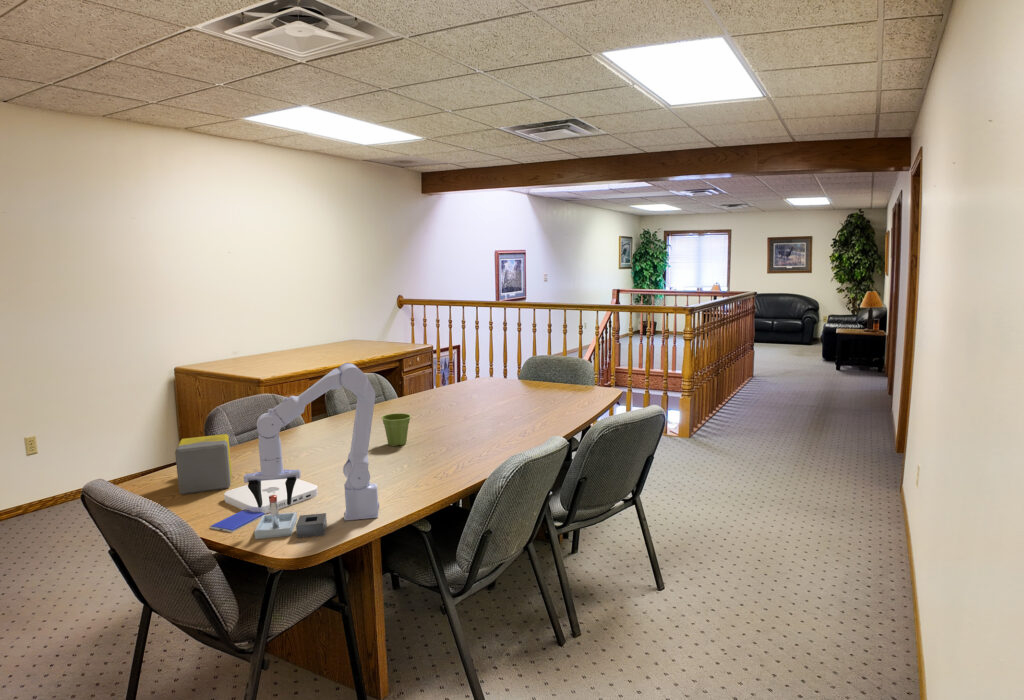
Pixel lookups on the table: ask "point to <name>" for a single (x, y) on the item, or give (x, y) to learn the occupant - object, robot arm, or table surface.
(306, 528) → the grey square socket block
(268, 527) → the parts tray
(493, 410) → the table surface
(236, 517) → the hard drive
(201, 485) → the grey-yellow rounded block
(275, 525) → the pin
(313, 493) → the computer
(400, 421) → the plant pot
